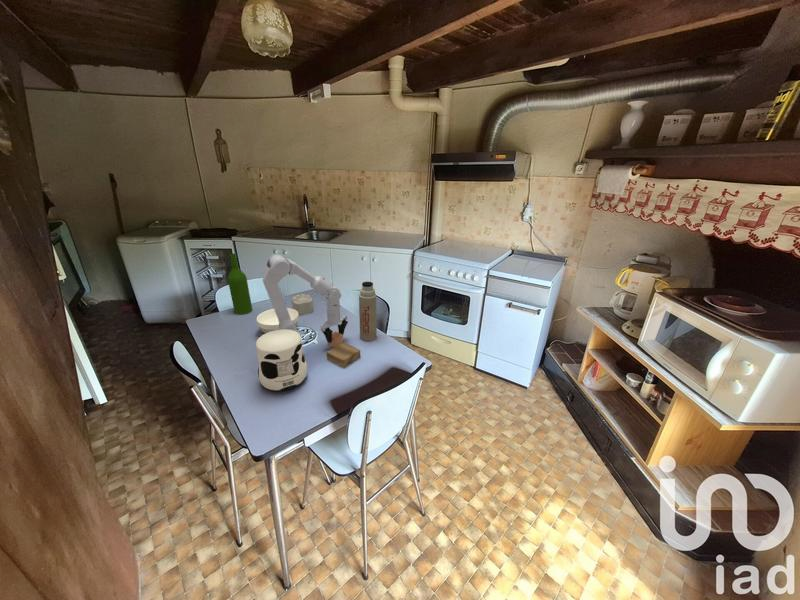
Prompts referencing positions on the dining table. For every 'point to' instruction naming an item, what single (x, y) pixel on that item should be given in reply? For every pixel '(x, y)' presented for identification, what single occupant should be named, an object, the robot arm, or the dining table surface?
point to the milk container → (281, 360)
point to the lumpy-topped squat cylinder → (302, 304)
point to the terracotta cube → (336, 339)
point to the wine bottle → (239, 288)
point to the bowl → (274, 320)
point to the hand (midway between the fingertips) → (335, 338)
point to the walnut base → (343, 355)
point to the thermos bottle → (367, 312)
